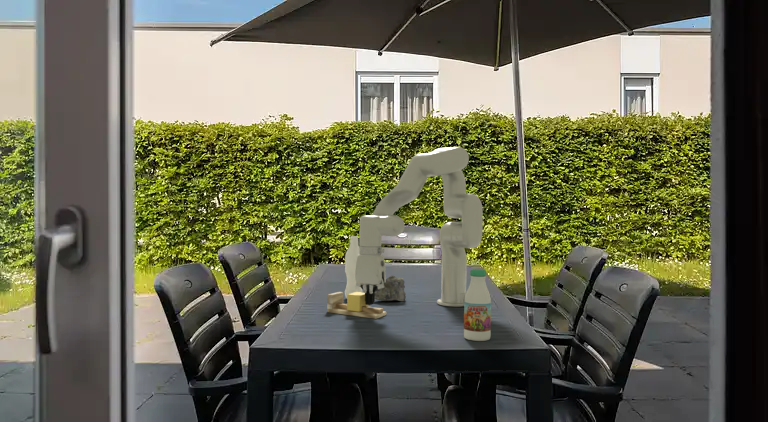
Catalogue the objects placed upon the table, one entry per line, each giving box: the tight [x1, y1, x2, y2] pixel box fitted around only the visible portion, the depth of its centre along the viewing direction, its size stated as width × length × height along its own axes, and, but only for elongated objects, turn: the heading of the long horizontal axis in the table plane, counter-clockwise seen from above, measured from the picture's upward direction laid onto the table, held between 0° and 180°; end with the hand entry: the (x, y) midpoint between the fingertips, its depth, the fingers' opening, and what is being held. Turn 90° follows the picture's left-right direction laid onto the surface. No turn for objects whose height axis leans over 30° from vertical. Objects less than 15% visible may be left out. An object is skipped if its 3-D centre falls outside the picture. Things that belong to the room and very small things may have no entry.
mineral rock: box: [375, 275, 407, 302], centre depth 220 cm, size 13×11×10 cm
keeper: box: [346, 292, 370, 312], centre depth 195 cm, size 5×6×6 cm
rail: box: [326, 291, 387, 320], centre depth 196 cm, size 20×7×6 cm, turn 60°
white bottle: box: [344, 235, 364, 299], centre depth 223 cm, size 7×7×25 cm
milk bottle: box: [463, 269, 492, 342], centre depth 163 cm, size 8×8×20 cm
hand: (369, 304), depth 193 cm, fingers closed
